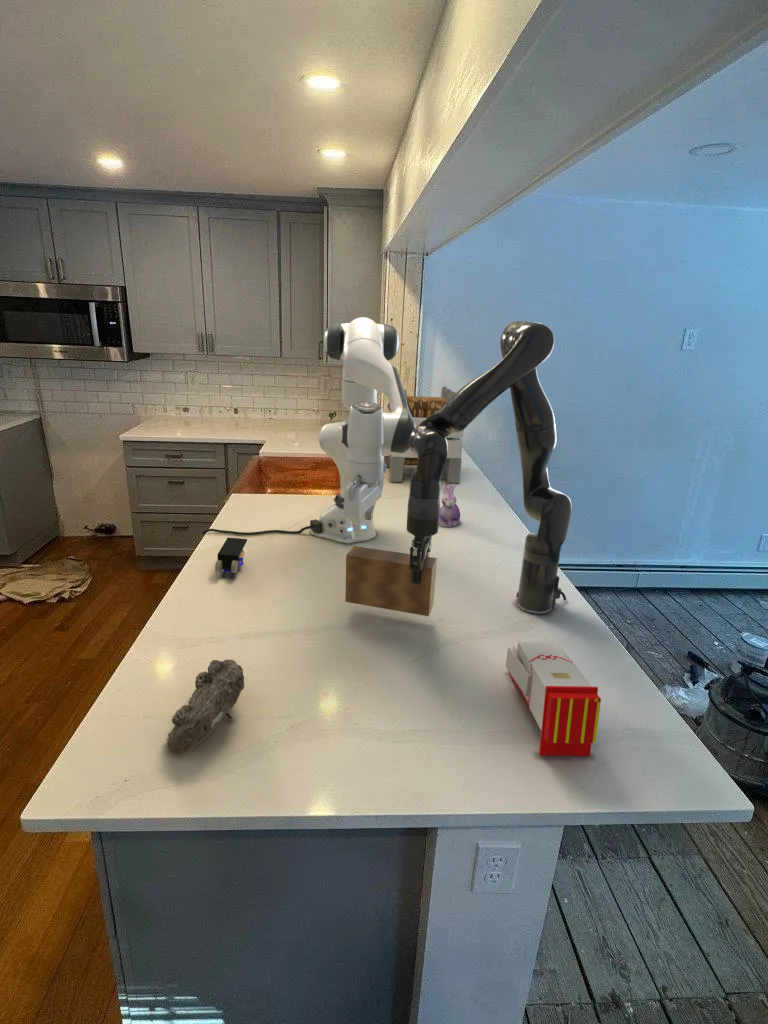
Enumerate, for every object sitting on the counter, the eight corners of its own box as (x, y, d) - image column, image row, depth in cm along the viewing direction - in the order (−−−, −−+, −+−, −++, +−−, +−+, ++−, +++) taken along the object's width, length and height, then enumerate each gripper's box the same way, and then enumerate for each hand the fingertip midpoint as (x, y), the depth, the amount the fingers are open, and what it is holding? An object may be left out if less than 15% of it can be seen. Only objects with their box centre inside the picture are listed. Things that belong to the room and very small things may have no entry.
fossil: (192, 660, 117) (244, 628, 112) (224, 691, 120) (276, 661, 115) (142, 746, 98) (202, 712, 93) (182, 779, 101) (242, 748, 96)
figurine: (445, 529, 206) (449, 489, 200) (430, 519, 214) (433, 481, 209) (467, 525, 210) (470, 487, 205) (451, 516, 218) (454, 479, 213)
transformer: (382, 463, 289) (386, 382, 275) (445, 464, 293) (451, 384, 279) (390, 482, 257) (394, 392, 243) (460, 483, 261) (468, 394, 247)
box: (345, 601, 143) (345, 554, 139) (353, 591, 149) (354, 545, 144) (428, 616, 138) (432, 568, 133) (433, 604, 143) (437, 558, 139)
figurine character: (238, 584, 162) (249, 557, 175) (236, 562, 158) (247, 536, 172) (215, 584, 161) (227, 556, 175) (212, 561, 158) (225, 535, 171)
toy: (554, 624, 127) (610, 694, 97) (548, 679, 130) (602, 763, 100) (500, 623, 126) (541, 693, 97) (496, 678, 129) (534, 763, 100)
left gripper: (363, 483, 126) (362, 541, 131) (388, 463, 145) (386, 514, 149) (337, 480, 128) (336, 537, 132) (364, 461, 147) (363, 511, 151)
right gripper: (433, 525, 125) (428, 592, 131) (444, 505, 138) (439, 567, 144) (400, 520, 127) (396, 587, 133) (414, 501, 140) (411, 563, 146)
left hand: (362, 525), depth 141 cm, fingers open, 8 cm apart
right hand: (419, 576), depth 138 cm, fingers closed on box, 6 cm apart
